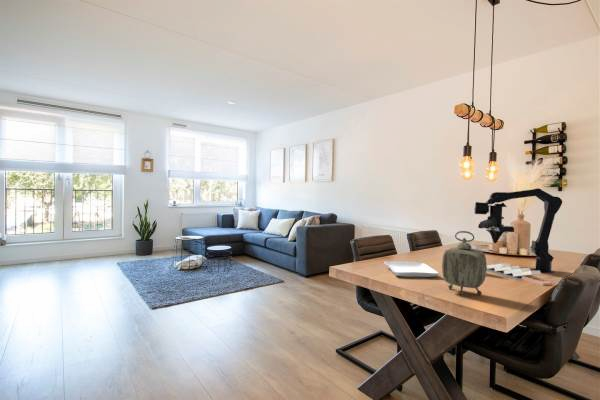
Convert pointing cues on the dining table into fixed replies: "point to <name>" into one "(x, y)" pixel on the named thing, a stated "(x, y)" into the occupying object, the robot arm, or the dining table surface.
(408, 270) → the salad plate
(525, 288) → the dining table surface
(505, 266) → the domino
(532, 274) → the domino
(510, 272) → the domino
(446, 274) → the tabletop clock
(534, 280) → the domino
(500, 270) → the domino
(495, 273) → the mat
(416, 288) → the dining table surface
